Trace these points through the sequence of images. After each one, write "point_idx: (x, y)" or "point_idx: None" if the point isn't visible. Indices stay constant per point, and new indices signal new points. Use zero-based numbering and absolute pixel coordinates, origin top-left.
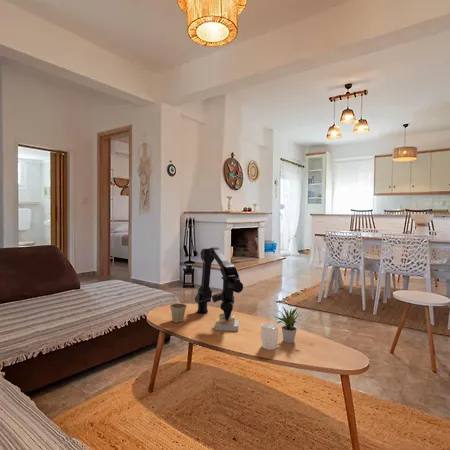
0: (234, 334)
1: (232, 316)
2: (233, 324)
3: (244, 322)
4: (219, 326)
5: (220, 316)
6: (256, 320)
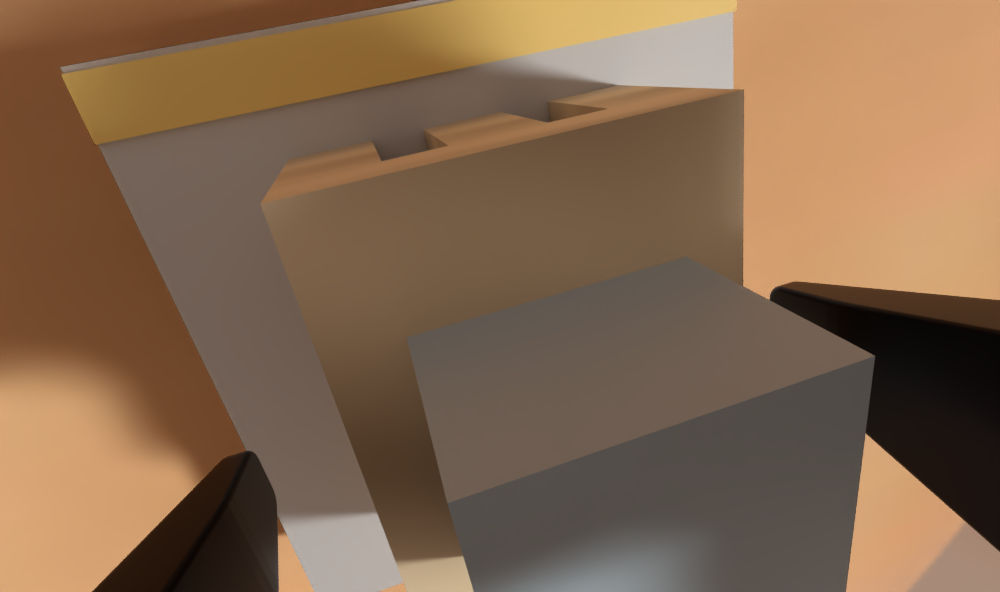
0: (114, 551)
1: None
2: None
3: None
4: (148, 212)
5: (379, 219)
6: (864, 544)
